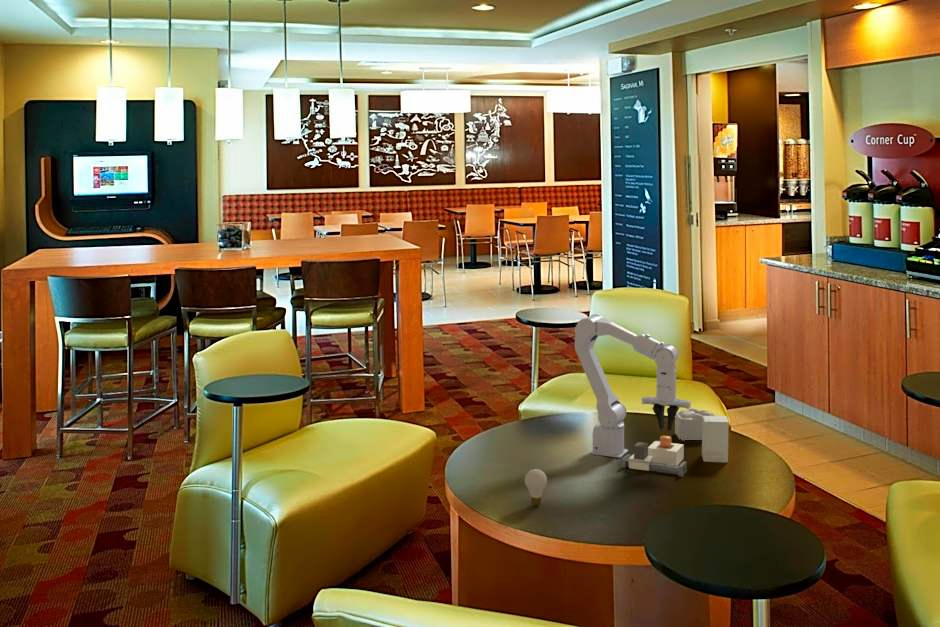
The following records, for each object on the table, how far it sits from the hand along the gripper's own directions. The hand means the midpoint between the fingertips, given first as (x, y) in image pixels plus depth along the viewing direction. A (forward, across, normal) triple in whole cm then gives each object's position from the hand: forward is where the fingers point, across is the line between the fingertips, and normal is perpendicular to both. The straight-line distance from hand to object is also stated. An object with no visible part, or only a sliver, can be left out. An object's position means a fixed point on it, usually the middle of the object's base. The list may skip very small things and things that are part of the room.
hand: (665, 429), depth 266 cm
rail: (+10, 0, -10) cm, 14 cm away
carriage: (+10, -4, -10) cm, 15 cm away
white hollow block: (+10, 0, 0) cm, 10 cm away
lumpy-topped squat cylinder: (+10, +2, +29) cm, 31 cm away
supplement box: (+10, +13, +8) cm, 18 cm away
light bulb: (+10, -20, -51) cm, 56 cm away
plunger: (+8, 0, 0) cm, 8 cm away
